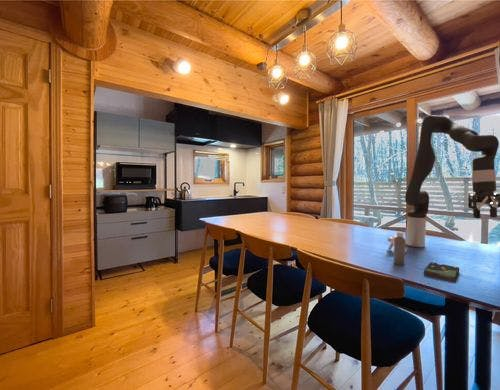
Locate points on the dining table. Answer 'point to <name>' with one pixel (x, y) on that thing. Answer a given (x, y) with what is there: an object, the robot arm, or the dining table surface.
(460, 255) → the dining table surface
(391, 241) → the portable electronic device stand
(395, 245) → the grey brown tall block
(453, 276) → the disk drive
